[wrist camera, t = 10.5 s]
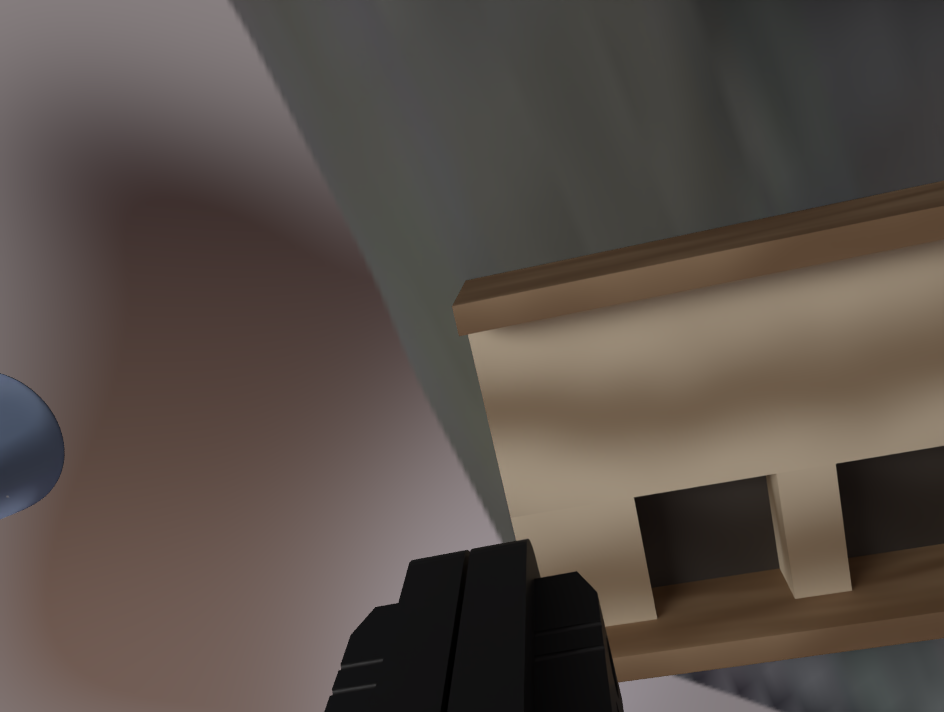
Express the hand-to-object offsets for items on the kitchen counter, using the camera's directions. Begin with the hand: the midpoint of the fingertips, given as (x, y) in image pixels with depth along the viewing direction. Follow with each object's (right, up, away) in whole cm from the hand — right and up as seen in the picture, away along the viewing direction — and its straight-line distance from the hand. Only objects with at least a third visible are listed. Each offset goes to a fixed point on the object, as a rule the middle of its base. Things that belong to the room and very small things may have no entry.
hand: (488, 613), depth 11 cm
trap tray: (+13, +1, +21) cm, 25 cm away
